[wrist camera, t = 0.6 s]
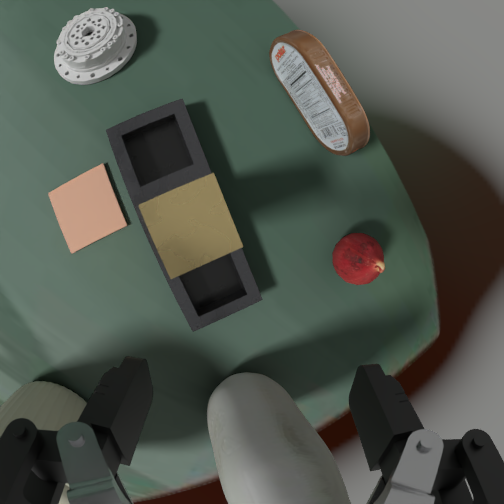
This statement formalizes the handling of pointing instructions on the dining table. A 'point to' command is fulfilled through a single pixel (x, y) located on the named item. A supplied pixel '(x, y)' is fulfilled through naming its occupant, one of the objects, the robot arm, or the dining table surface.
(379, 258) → the pomegranate
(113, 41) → the mechanical component
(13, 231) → the dining table surface
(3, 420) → the canister
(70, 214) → the tile
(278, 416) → the glass bottle
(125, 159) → the compartment tray
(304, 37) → the tin
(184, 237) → the brass block
